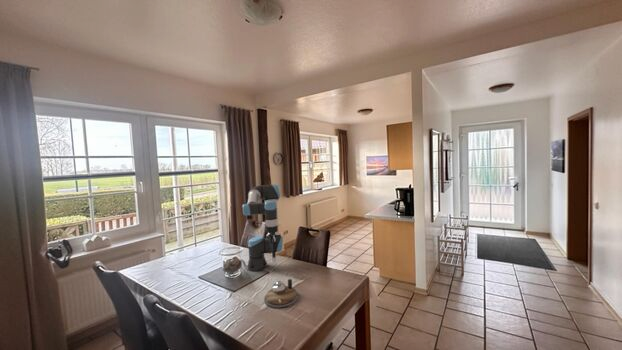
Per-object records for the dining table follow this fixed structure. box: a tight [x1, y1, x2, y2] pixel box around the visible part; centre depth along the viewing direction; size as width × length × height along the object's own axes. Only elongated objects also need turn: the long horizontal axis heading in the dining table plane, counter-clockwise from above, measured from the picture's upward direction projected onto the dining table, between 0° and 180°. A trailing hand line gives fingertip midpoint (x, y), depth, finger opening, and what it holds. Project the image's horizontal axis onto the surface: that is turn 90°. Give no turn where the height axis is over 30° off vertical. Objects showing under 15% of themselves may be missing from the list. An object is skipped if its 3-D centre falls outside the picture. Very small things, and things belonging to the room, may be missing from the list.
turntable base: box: [263, 291, 299, 309], centre depth 148 cm, size 20×20×1 cm
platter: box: [265, 278, 297, 305], centre depth 147 cm, size 18×18×6 cm
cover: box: [271, 280, 286, 294], centre depth 152 cm, size 8×8×5 cm
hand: (273, 261), depth 159 cm, fingers closed
